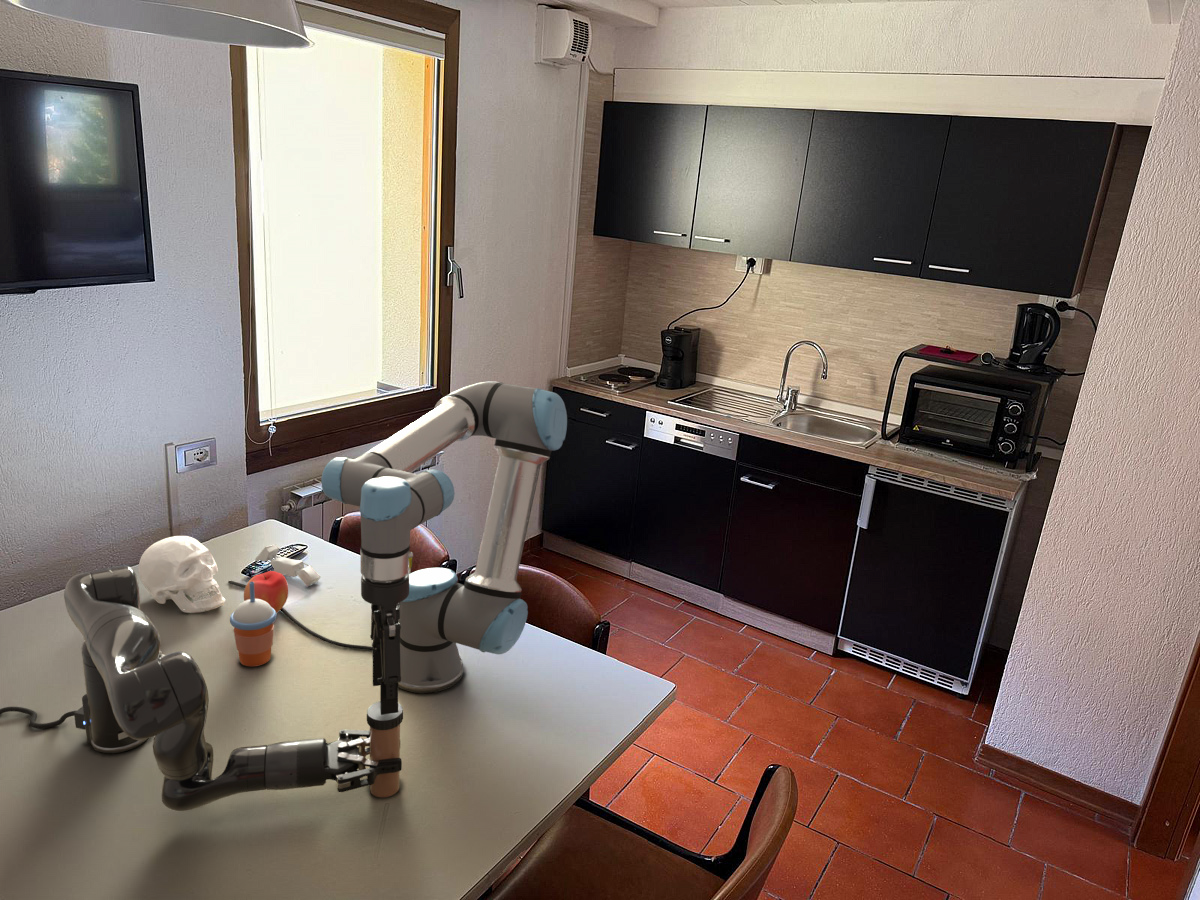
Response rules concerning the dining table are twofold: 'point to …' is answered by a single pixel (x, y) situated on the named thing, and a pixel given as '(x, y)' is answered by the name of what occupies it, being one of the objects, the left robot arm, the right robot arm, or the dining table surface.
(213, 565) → the skull
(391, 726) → the lid
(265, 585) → the apple
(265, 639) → the cup with straw
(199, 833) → the dining table surface
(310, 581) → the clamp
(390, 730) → the jar
